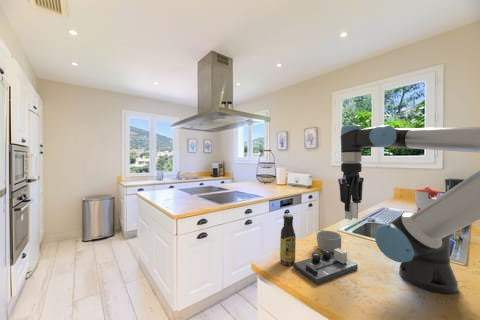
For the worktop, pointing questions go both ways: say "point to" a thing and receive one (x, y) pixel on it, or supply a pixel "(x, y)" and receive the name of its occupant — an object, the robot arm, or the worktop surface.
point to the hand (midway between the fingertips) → (351, 218)
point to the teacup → (328, 240)
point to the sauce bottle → (287, 241)
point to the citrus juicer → (425, 197)
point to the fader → (340, 255)
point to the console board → (323, 267)
